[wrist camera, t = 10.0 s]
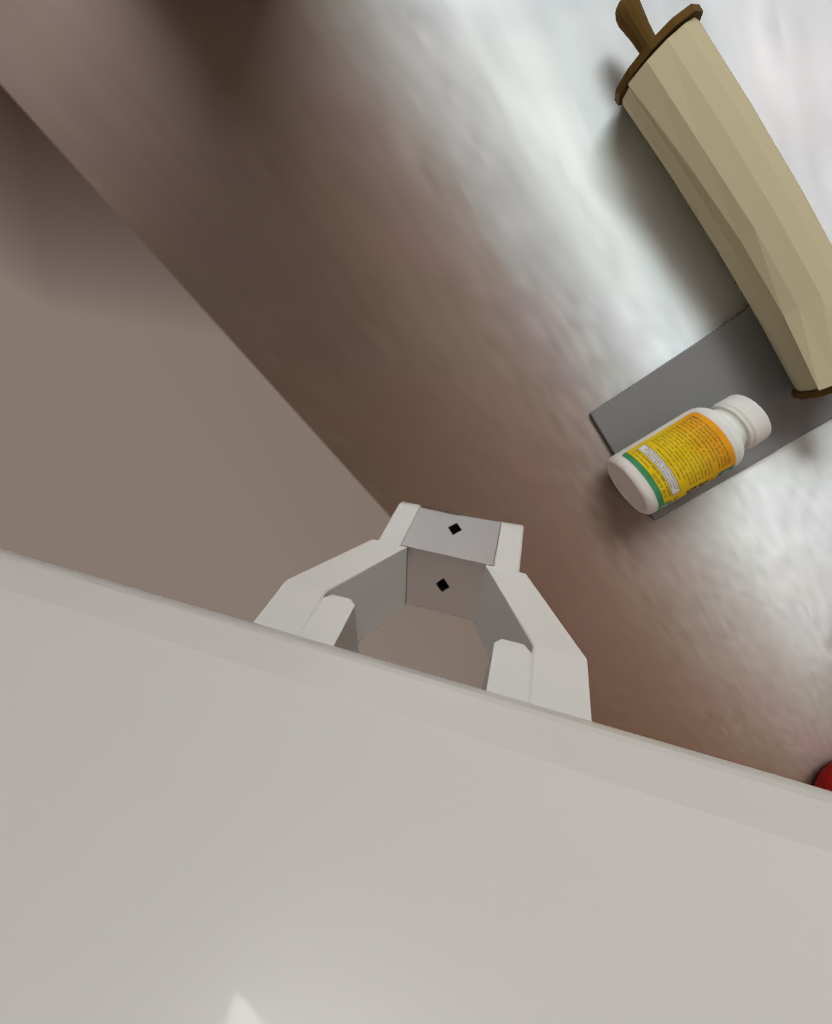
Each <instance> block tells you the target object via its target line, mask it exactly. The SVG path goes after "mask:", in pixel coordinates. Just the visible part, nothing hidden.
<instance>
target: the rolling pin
mask: <svg viewBox="0 0 832 1024" xmlns="http://www.w3.org/2000/svg"><path fill="white" fill-rule="evenodd" d="M702 13H703V10H702V8H701V7H700V5H699V4H690V5H689V6H688V7H686V8H685V9H684V10H682V11H681V12H680V13H678V14H677V15H676V16H674V17H673V18H672V19H671V20H670V21H669V22H668V23H667V24H666V25H665V26H664V27H663V28H662V29H661V30H660V31H659V32H658V33H657V34H656V35H655V34H654V32H653V30H652V28H651V26H650V24H649V22H648V19H647V17H646V14H645V12H644V9H643V7H642V4H641V2H640V0H621V1H620V2H619V4H618V6H617V9H616V13H615V15H616V22H617V24H618V26H619V28H620V29H621V30H622V31H623V32H624V34H625V35H626V36H627V37H628V38H629V40H630V41H631V42H632V43H633V45H634V46H635V48H636V49H637V51H638V52H639V53H640V54H639V55H638V57H637V58H636V59H635V60H634V62H633V63H632V64H631V66H630V67H629V68H628V70H627V71H626V73H625V75H624V76H623V78H622V80H621V82H620V83H619V85H618V87H617V89H616V93H615V101H616V103H617V104H618V105H623V106H624V108H625V109H626V111H627V112H628V114H629V115H630V116H631V118H632V119H633V121H634V122H635V124H636V125H637V127H638V128H639V130H640V131H641V133H642V134H643V136H644V137H645V139H646V140H647V142H648V143H649V145H650V146H651V148H652V149H653V151H654V152H655V154H656V155H657V157H658V158H659V160H660V161H661V163H662V164H663V166H664V167H665V169H666V170H667V172H668V173H669V175H670V176H671V178H672V179H673V181H674V182H675V184H676V186H677V187H678V189H679V190H680V192H681V193H682V195H683V197H684V198H685V200H686V201H687V203H688V205H689V206H690V208H691V209H692V211H693V212H694V214H695V216H696V217H697V219H698V220H699V222H700V224H701V225H702V227H703V228H704V230H705V231H706V233H707V235H708V236H709V238H710V239H711V241H712V243H713V244H714V246H715V247H716V249H717V251H718V252H719V254H720V256H721V257H722V259H723V261H724V262H725V264H726V266H727V268H728V269H729V271H730V273H731V274H732V276H733V278H734V280H735V281H736V283H737V285H738V286H739V288H740V290H741V292H742V293H743V295H744V297H745V298H746V300H747V302H748V304H749V305H750V307H751V309H752V310H753V312H754V314H755V315H756V317H757V319H758V321H759V322H760V324H761V326H762V328H763V330H764V332H765V334H766V335H767V337H768V339H769V341H770V343H771V345H772V347H773V348H774V350H775V352H776V354H777V356H778V358H779V360H780V362H781V363H782V365H783V367H784V369H785V371H786V373H787V375H788V376H789V378H790V380H791V382H792V384H793V386H794V387H793V389H792V391H791V394H792V396H793V398H797V399H800V400H804V399H810V398H816V397H822V396H825V395H828V394H832V245H831V243H830V241H829V239H828V238H827V236H826V234H825V232H824V230H823V228H822V226H821V225H820V223H819V221H818V219H817V217H816V215H815V213H814V212H813V210H812V208H811V206H810V204H809V202H808V200H807V199H806V197H805V195H804V193H803V191H802V189H801V188H800V186H799V184H798V183H797V181H796V179H795V178H794V176H793V174H792V172H791V171H790V169H789V167H788V166H787V164H786V162H785V160H784V159H783V157H782V155H781V154H780V152H779V150H778V149H777V147H776V145H775V143H774V142H773V140H772V138H771V137H770V135H769V133H768V131H767V130H766V128H765V126H764V125H763V123H762V121H761V120H760V118H759V116H758V114H757V113H756V111H755V109H754V108H753V106H752V104H751V103H750V101H749V100H748V98H747V96H746V95H745V93H744V92H743V90H742V88H741V87H740V85H739V84H738V82H737V80H736V79H735V77H734V76H733V74H732V72H731V71H730V69H729V68H728V66H727V64H726V63H725V61H724V60H723V58H722V56H721V55H720V53H719V52H718V50H717V48H716V47H715V45H714V44H713V42H712V40H711V39H710V37H709V36H708V34H707V33H706V31H705V29H704V28H703V26H702V25H701V23H700V19H701V16H702Z"/></svg>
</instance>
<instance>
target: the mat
mask: <svg viewBox="0 0 832 1024" xmlns="http://www.w3.org/2000/svg"><path fill="white" fill-rule="evenodd" d="M793 387H794V386H793V384H792V382H791V380H790V378H789V376H788V375H787V373H786V371H785V369H784V367H783V365H782V363H781V362H780V360H779V358H778V356H777V354H776V352H775V350H774V348H773V347H772V345H771V343H770V341H769V339H768V337H767V335H766V334H765V332H764V330H763V328H762V326H761V324H760V322H759V321H758V319H757V317H756V315H755V314H754V312H753V310H752V309H751V307H749V308H748V309H746V310H745V311H743V312H742V313H740V314H739V315H737V316H736V317H734V318H733V319H731V320H730V321H728V322H727V323H725V324H724V325H722V326H721V327H719V328H718V329H716V330H715V331H713V332H712V333H710V334H709V335H707V336H706V337H704V338H703V339H701V340H700V341H698V342H697V343H695V344H694V345H692V346H691V347H689V348H688V349H686V350H685V351H683V352H682V353H680V354H679V355H677V356H676V357H674V358H673V359H671V360H670V361H668V362H667V363H665V364H664V365H662V366H661V367H659V368H658V369H656V370H655V371H653V372H652V373H650V374H649V375H647V376H646V377H644V378H643V379H641V380H640V381H638V382H637V383H635V384H634V385H632V386H631V387H629V388H628V389H626V390H625V391H623V392H621V393H620V394H618V395H617V396H615V397H614V398H612V399H611V400H609V401H608V402H606V403H605V404H603V405H602V406H600V407H599V408H597V409H596V410H594V411H593V412H591V413H590V416H591V417H592V419H593V421H594V422H595V424H596V426H597V427H598V429H599V430H600V432H601V434H602V435H603V437H604V439H605V440H606V442H607V444H608V445H609V447H610V449H611V450H612V452H613V454H614V455H615V454H616V453H618V452H619V451H621V450H623V449H624V448H626V447H628V446H629V445H631V444H633V443H634V442H636V441H638V440H640V439H641V438H643V437H645V436H646V435H648V434H650V433H651V432H653V431H655V430H656V429H658V428H659V427H661V426H663V425H664V424H666V423H668V422H669V421H671V420H672V419H674V418H676V417H677V416H679V415H681V414H682V413H684V412H686V411H688V410H690V409H693V408H708V409H710V408H711V407H713V405H714V404H716V403H718V402H720V401H722V400H723V399H725V398H727V397H729V396H731V395H742V396H745V397H748V398H749V399H751V400H753V401H754V402H756V403H757V404H758V405H759V406H760V407H761V408H762V409H763V410H764V412H765V413H766V415H767V416H768V418H769V420H770V423H771V433H770V435H769V436H768V438H766V439H765V440H763V441H762V442H760V443H758V444H757V445H755V446H754V447H752V448H747V449H744V455H743V458H742V460H741V462H740V463H739V464H738V465H737V466H736V467H734V468H733V469H731V470H729V471H727V472H726V473H724V474H722V475H720V476H719V477H717V478H715V479H713V480H711V481H710V482H708V483H706V484H704V485H702V486H700V487H698V488H697V489H695V490H693V491H692V492H689V493H687V494H686V495H684V496H683V497H681V498H679V499H677V500H675V501H674V502H672V503H670V504H669V505H667V506H665V507H663V508H661V509H659V510H658V511H656V512H654V513H652V514H650V515H651V516H652V518H653V519H654V520H656V519H658V518H660V517H662V516H663V515H665V514H667V513H668V512H670V511H672V510H674V509H675V508H677V507H679V506H681V505H682V504H684V503H686V502H687V501H689V500H691V499H693V498H694V497H696V496H698V495H700V494H701V493H703V492H705V491H707V490H708V489H710V488H712V487H713V486H715V485H717V484H719V483H720V482H722V481H724V480H726V479H727V478H729V477H731V476H733V475H734V474H736V473H738V472H739V471H741V470H743V469H745V468H746V467H748V466H750V465H752V464H753V463H755V462H757V461H758V460H760V459H762V458H764V457H765V456H767V455H769V454H771V453H772V452H774V451H776V450H778V449H779V448H781V447H783V446H784V445H786V444H788V443H790V442H791V441H793V440H795V439H797V438H798V437H800V436H802V435H804V434H805V433H807V432H809V431H810V430H812V429H814V428H816V427H817V426H819V425H821V424H823V423H824V422H826V421H828V420H830V419H831V418H832V394H828V395H825V396H822V397H816V398H810V399H804V400H800V399H797V398H793V396H792V394H791V391H792V389H793Z"/></svg>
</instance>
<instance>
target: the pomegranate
mask: <svg viewBox="0 0 832 1024" xmlns="http://www.w3.org/2000/svg"><path fill="white" fill-rule="evenodd" d="M814 786H815V787H818V788H822V789H825V790H829V791H832V762H830V763H829V764H827V765H826V766H825V767H824V768H823V769H822V770H821V771H820V772H819V774H818V777H817V779H816V780H815V782H814Z"/></svg>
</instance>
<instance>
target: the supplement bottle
mask: <svg viewBox="0 0 832 1024" xmlns="http://www.w3.org/2000/svg"><path fill="white" fill-rule="evenodd" d="M770 433H771V423H770V420H769V418H768V416H767V415H766V413H765V412H764V410H763V409H762V408H761V407H760V406H759V405H758V404H757V403H756V402H754V401H753V400H751V399H749V398H748V397H745V396H742V395H731V396H729V397H727V398H725V399H723V400H722V401H720V402H718V403H716V404H714V405H713V407H711V408H710V409H708V408H693V409H690V410H688V411H686V412H684V413H682V414H681V415H679V416H677V417H676V418H674V419H672V420H671V421H669V422H668V423H666V424H664V425H663V426H661V427H659V428H658V429H656V430H655V431H653V432H651V433H650V434H648V435H646V436H645V437H643V438H641V439H640V440H638V441H636V442H634V443H633V444H631V445H629V446H628V447H626V448H624V449H623V450H621V451H619V452H618V453H616V454H615V455H613V456H612V457H610V458H609V460H608V462H607V470H608V473H609V475H610V477H611V479H612V481H613V483H614V484H615V486H616V488H617V489H618V490H619V492H620V493H621V494H622V496H623V497H624V498H625V499H626V500H627V501H628V502H629V503H630V504H631V505H632V506H633V507H634V508H635V509H636V510H638V511H639V512H641V513H644V514H652V513H654V512H656V511H658V510H659V509H661V508H663V507H665V506H667V505H669V504H670V503H672V502H674V501H675V500H677V499H679V498H681V497H683V496H684V495H686V494H687V493H689V492H692V491H693V490H695V489H697V488H698V487H700V486H702V485H704V484H706V483H708V482H710V481H711V480H713V479H715V478H717V477H719V476H720V475H722V474H724V473H726V472H727V471H729V470H731V469H733V468H734V467H736V466H737V465H738V464H739V463H740V462H741V460H742V458H743V455H744V449H747V448H752V447H754V446H755V445H757V444H758V443H760V442H762V441H763V440H765V439H766V438H768V436H769V435H770Z"/></svg>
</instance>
